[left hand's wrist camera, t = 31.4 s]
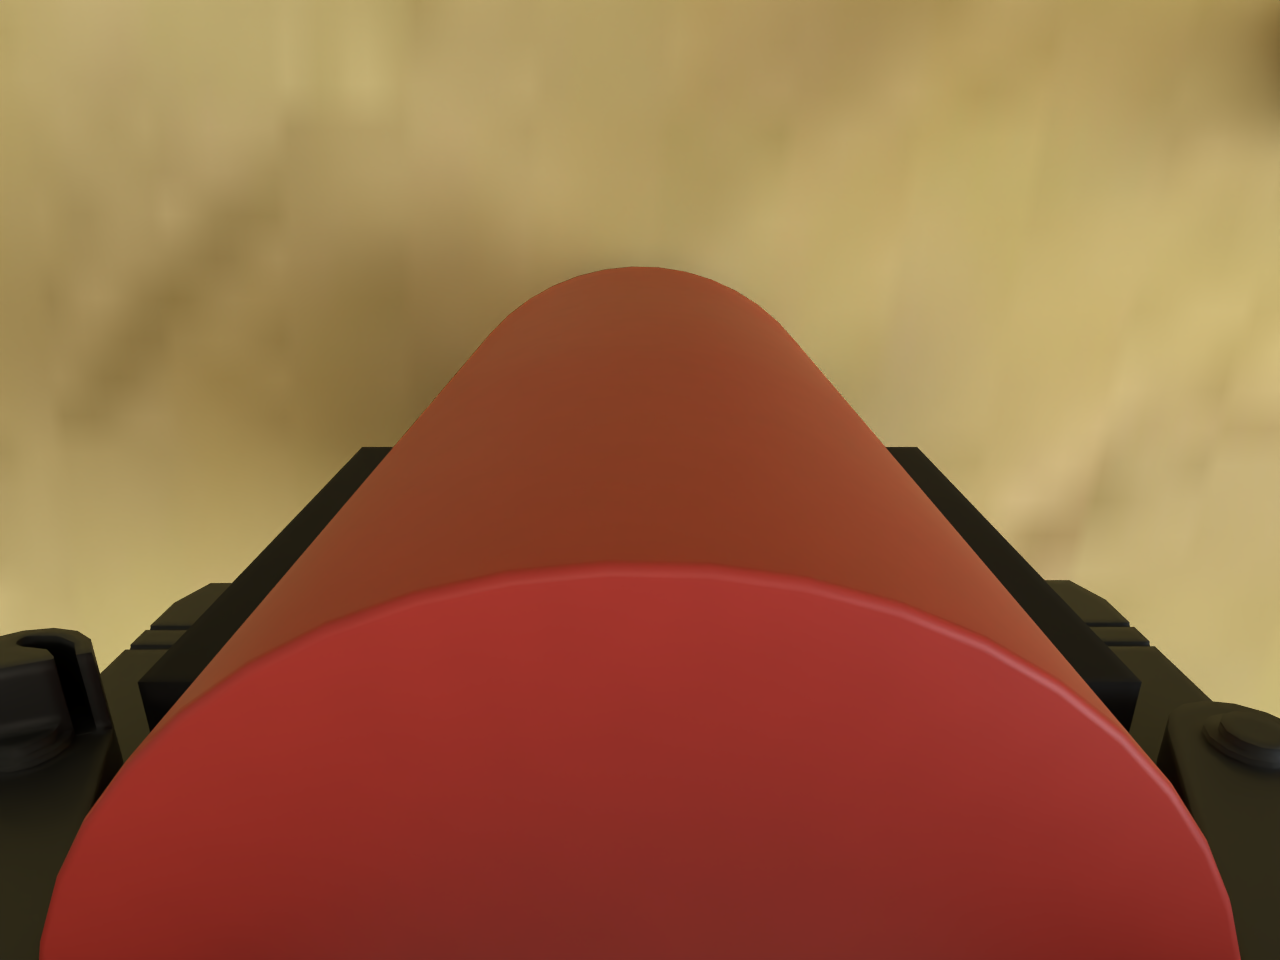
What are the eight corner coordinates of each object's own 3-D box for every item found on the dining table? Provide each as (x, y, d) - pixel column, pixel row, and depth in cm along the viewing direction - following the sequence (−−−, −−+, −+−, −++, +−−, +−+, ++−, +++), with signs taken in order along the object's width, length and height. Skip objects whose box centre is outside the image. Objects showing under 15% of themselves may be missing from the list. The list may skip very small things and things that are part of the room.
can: (470, 634, 18) (190, 1423, 7) (424, 274, 15) (-166, 592, 4) (824, 622, 18) (1133, 1401, 7) (839, 257, 15) (1401, 537, 4)
